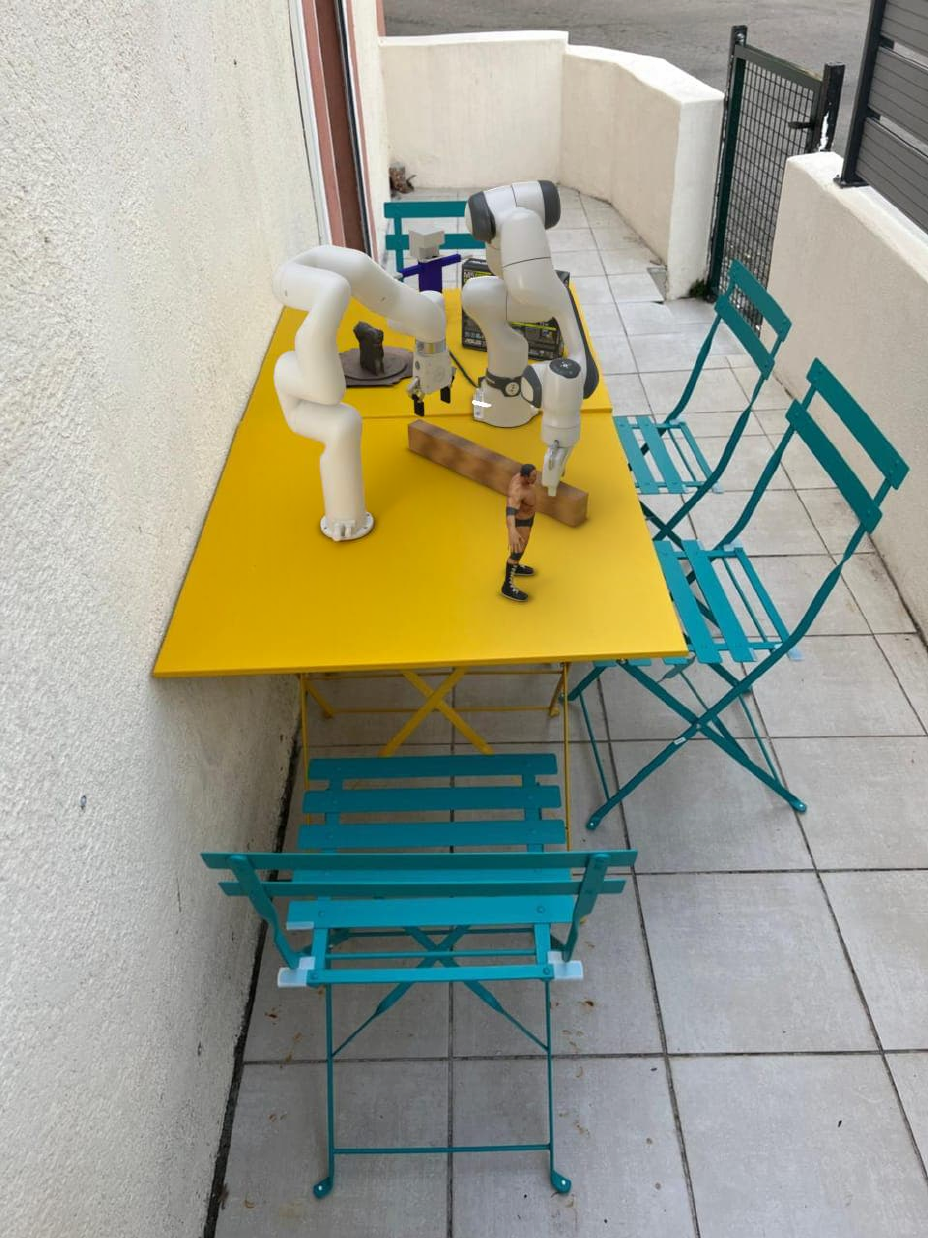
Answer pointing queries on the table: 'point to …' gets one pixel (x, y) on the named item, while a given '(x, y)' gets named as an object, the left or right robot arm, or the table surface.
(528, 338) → the box
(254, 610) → the table surface
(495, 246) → the right robot arm
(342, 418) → the left robot arm
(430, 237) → the toy
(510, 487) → the figurine
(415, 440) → the post
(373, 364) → the sculpture
